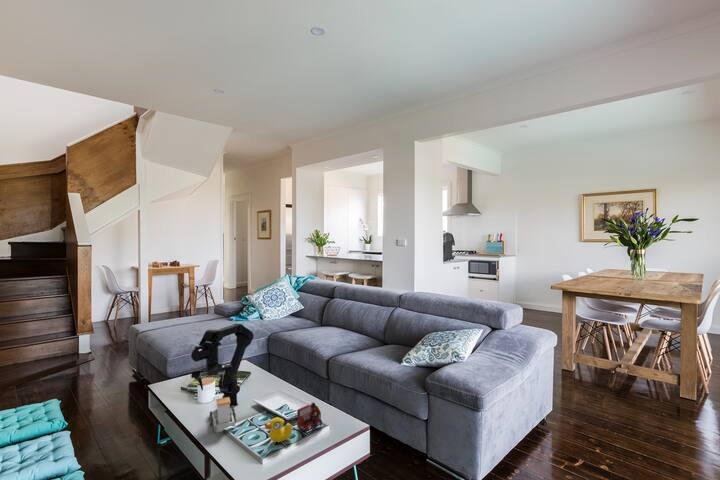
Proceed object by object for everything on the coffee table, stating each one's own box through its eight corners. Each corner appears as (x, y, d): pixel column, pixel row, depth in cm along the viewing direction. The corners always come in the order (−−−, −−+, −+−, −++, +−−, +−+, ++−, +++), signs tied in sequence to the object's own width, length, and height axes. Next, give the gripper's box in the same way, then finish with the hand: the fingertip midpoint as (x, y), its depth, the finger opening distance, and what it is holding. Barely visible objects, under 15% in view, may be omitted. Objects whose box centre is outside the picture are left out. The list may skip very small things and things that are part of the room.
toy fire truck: (325, 425, 172) (324, 402, 171) (303, 435, 163) (302, 412, 163) (315, 420, 176) (315, 398, 176) (294, 430, 168) (293, 407, 168)
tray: (287, 425, 172) (287, 418, 172) (251, 405, 194) (251, 398, 194) (315, 412, 185) (315, 405, 185) (279, 394, 206) (279, 388, 206)
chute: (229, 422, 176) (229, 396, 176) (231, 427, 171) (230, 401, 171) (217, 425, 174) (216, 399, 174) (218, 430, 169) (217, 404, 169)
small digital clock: (233, 412, 186) (233, 405, 186) (237, 427, 171) (237, 420, 171) (209, 417, 182) (209, 410, 182) (211, 433, 166) (211, 426, 166)
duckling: (266, 448, 154) (265, 423, 154) (263, 441, 159) (263, 418, 159) (293, 441, 159) (292, 417, 159) (290, 435, 164) (289, 412, 163)
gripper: (190, 362, 173) (191, 397, 172) (233, 357, 180) (234, 390, 179) (191, 357, 183) (191, 390, 182) (231, 352, 190) (232, 383, 190)
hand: (212, 388), depth 183 cm, fingers open, 9 cm apart
